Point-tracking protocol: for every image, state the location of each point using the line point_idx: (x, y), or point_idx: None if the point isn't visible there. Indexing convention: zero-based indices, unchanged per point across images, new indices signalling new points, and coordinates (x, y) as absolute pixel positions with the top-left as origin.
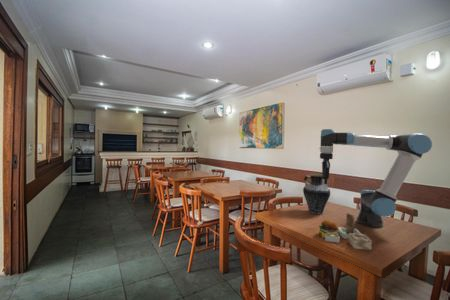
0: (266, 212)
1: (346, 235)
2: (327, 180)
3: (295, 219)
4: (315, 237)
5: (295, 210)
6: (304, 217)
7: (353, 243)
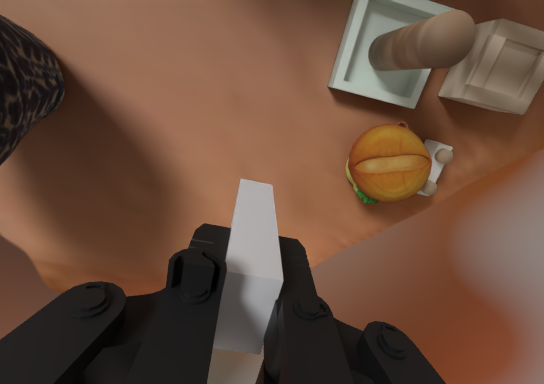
0: None
1: (418, 92)
2: (281, 264)
3: (190, 228)
4: (384, 212)
5: (28, 188)
6: (148, 177)
7: (497, 110)
